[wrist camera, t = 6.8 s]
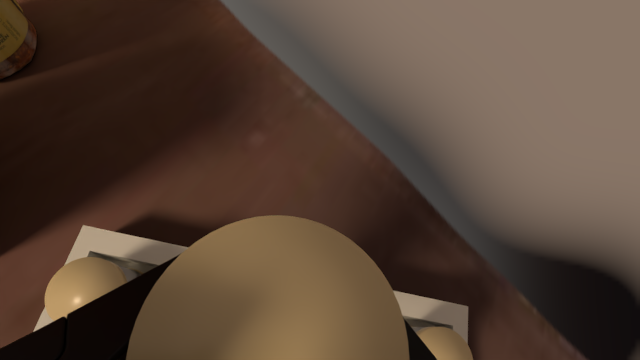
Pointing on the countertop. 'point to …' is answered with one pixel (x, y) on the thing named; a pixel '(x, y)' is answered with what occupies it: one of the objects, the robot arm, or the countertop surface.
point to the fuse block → (154, 253)
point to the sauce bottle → (15, 38)
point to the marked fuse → (271, 299)
